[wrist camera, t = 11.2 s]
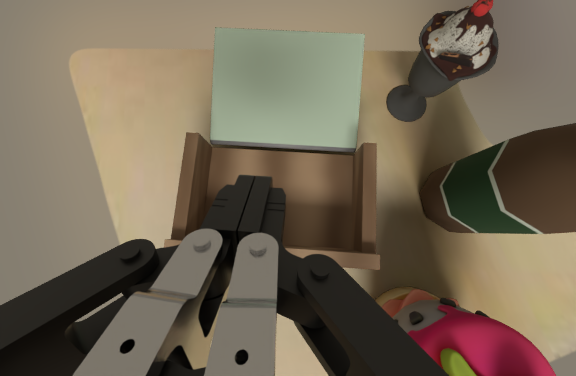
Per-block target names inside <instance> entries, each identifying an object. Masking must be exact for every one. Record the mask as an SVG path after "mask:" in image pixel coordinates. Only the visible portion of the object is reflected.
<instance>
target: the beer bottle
mask: <svg viewBox="0 0 576 376" xmlns="http://www.w3.org/2000/svg"><path fill="white" fill-rule="evenodd" d="M420 197H421V200H422V204H423V207H424V211H425V214H426V217H427V218H429V219H430V220H432V221H433V222H435V223H436V224H438V225H440V226H441V227H443V228H444V229H446V230H447V231H449V232H457V233H514V234H551V233H567V232H576V123H574V124H569V125H564V126H558V127H553V128H547V129H542V130H536V131H532V132H530V133H527V134H524V135H521V136H517V137H514V138H512V139H509V140H506V141H504V142H502V143H499V144H497V145H494V146H492V147H490V148H487V149H485V150H482V151H480V152H478V153H475V154H473V155H471V156H468V157H466V158H463V159H461V160H459V161H456V162H454V163H452V164H449V165H447V166H444V167H442V168H440V169H438V170H436V171H434V172H432V173H431V175H430V177H429V178H428V180H427V181H426V183H425V185H424V186H423V188H422V190H421V191H420Z"/></svg>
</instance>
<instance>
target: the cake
mask: <svg viewBox="0 0 576 376" xmlns="http://www.w3.org/2000/svg"><path fill="white" fill-rule="evenodd" d="M375 301H376V302H377V303H378V304H379V305H380V306H381V307H382V308H383V309H384V310H385V311H386V312H387V313H388V314H389V315H390V316H391V317H392V318H393V319H394V320H395V321H396V322H397V323H398V324H399V325H400V327H401V328H402V329H403V330H404V331H405V332H406V333H407V334H408V335H409V336H410V337H411V338H412V339H413V340H414V341H415V342H416V343H417V344H418V345H419V346H420V347H421V348H422V349H423V350H424V351H425V352H426V353H427V354H428V355H429V356H430V357H431V358H432V359H433V360H434V361H435V362H436V363H437V364H438V365H439V366H440V367H441V368H442V369H443V370H444V371H445V372H446V373H447V374H448V375H449V376H556V374H555V373H554V371H553V369H552V368H551V366H550V364H549V363H548V361H547V360H546V358H545V357H544V356H543V354H542V353H541V352H540V351H539V350H538V349H537V348H536V347H535V346H534V344H533V343H532V342H530V341H529V340H528V339H527V338H526V337H524V336H523V335H522V334H520V333H519V332H517V331H516V330H514V329H513V328H511V327H509V326H507V325H505V324H503V323H501V322H499V321H497V320H494V319H492V318H490V317H488V316H487V315H486V314H484V313H483V312H481V311H476V312H475V314H474V313H472V312H470V311H468V310H465V309H463V308H461V307H460V306H459V304H458V301H457V300H456V299H452V298H447V299H446V298H441V299H440V298H438V297H437V296H435V295H433V294H430V293H428V292H426V291H423V290H421V289H416V288H413V287H397V288H394V289H392V290H389V291H387V292H384V293H383V294H382V295H381V296H380V297H378V298H377V299H376V300H375Z"/></svg>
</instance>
